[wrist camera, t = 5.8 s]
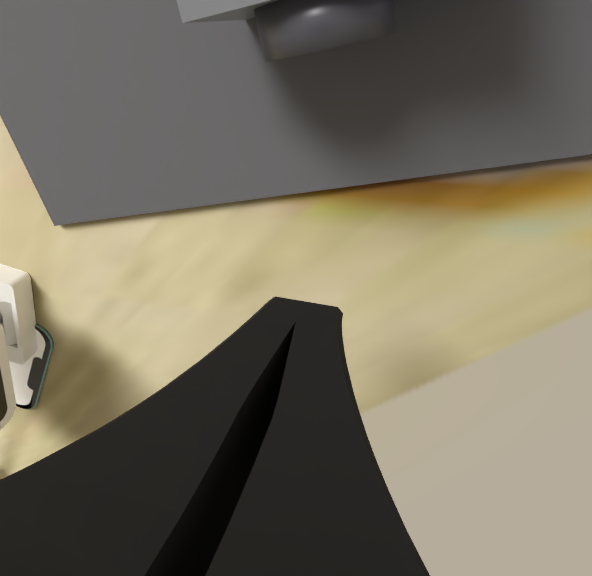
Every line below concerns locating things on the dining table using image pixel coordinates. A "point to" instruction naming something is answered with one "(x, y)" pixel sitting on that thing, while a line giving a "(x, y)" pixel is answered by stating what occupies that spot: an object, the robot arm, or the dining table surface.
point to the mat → (282, 101)
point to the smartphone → (32, 371)
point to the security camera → (14, 332)
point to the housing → (300, 21)
